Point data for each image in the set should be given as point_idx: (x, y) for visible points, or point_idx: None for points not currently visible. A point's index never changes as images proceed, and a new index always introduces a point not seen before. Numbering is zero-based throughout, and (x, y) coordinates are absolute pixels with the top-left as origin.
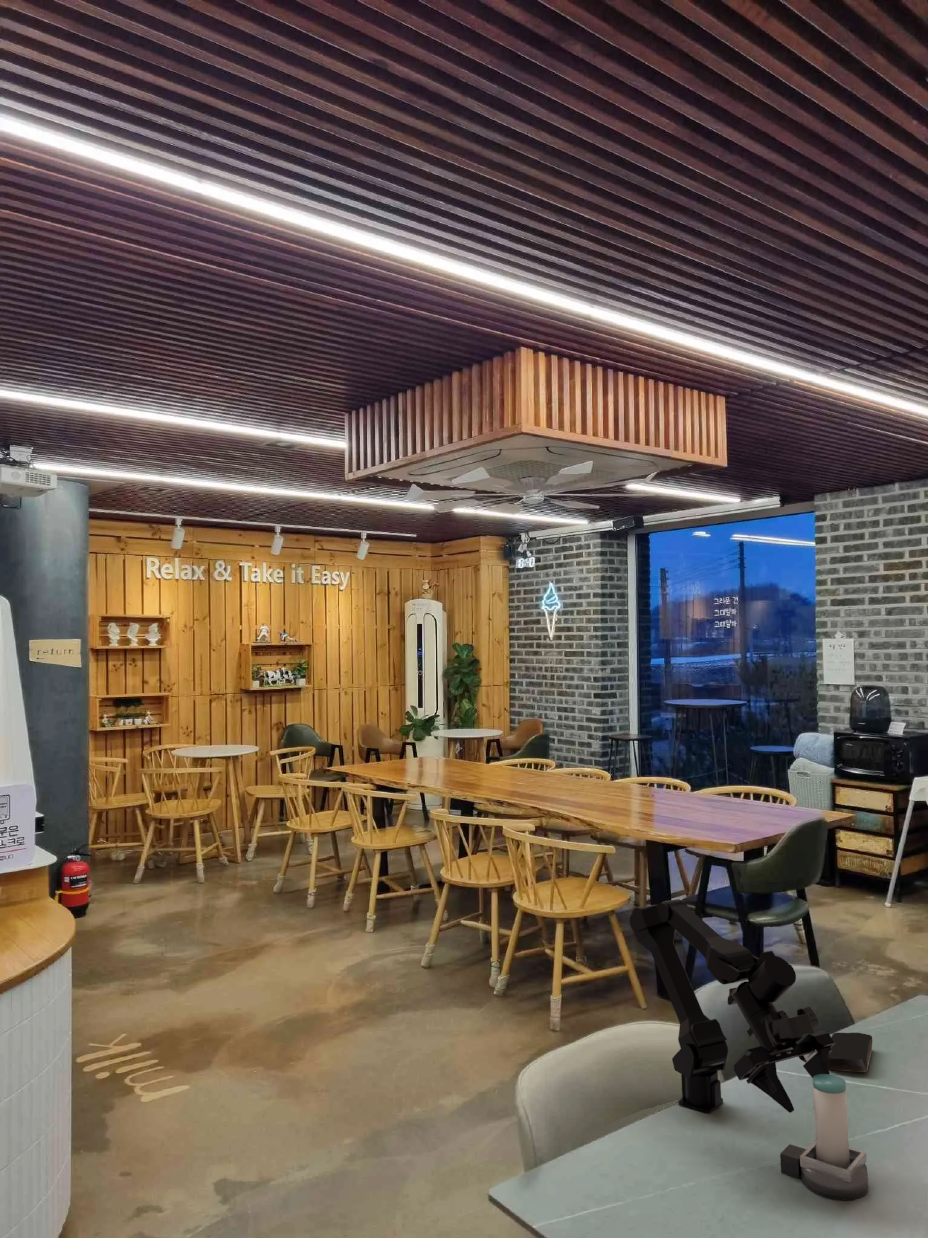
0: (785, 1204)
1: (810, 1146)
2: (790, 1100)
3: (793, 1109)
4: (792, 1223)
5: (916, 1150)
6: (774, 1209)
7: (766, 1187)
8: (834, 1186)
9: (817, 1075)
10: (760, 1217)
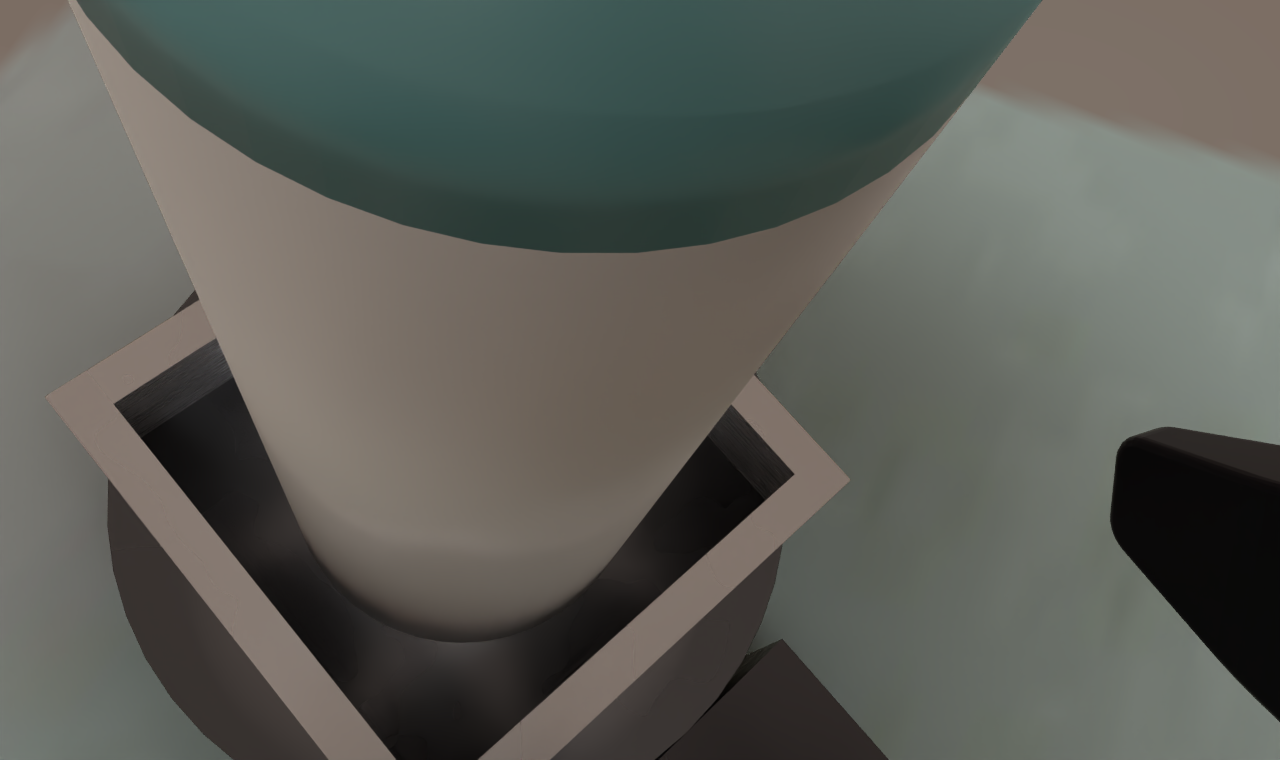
0: (978, 342)
1: (633, 666)
2: (1262, 482)
3: (1142, 433)
4: (1006, 144)
5: None
6: (1071, 306)
7: (1044, 590)
8: None
9: (813, 40)
10: (1184, 249)
